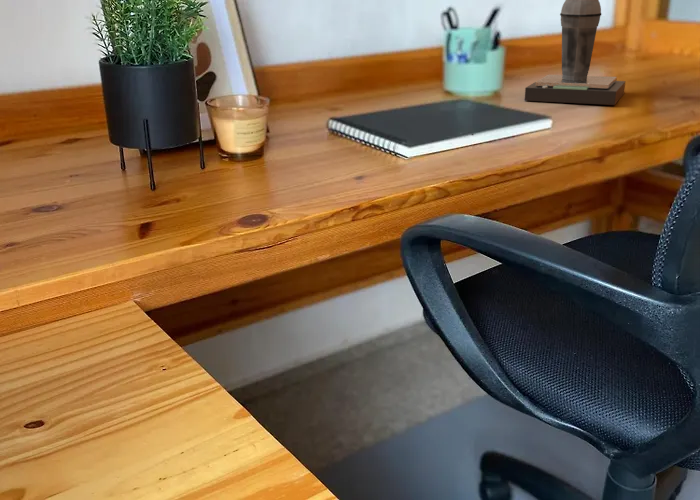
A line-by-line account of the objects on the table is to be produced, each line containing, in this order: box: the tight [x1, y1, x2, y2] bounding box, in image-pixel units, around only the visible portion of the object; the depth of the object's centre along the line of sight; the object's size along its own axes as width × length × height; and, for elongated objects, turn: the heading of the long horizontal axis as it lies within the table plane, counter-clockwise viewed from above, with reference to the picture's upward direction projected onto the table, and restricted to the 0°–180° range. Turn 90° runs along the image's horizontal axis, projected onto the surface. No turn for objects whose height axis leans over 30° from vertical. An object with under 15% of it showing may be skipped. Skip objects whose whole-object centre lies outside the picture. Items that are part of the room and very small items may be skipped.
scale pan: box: [535, 74, 618, 89], centre depth 135 cm, size 13×11×1 cm
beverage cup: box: [559, 0, 602, 81], centre depth 131 cm, size 7×7×20 cm
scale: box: [524, 80, 626, 106], centre depth 135 cm, size 16×14×3 cm
